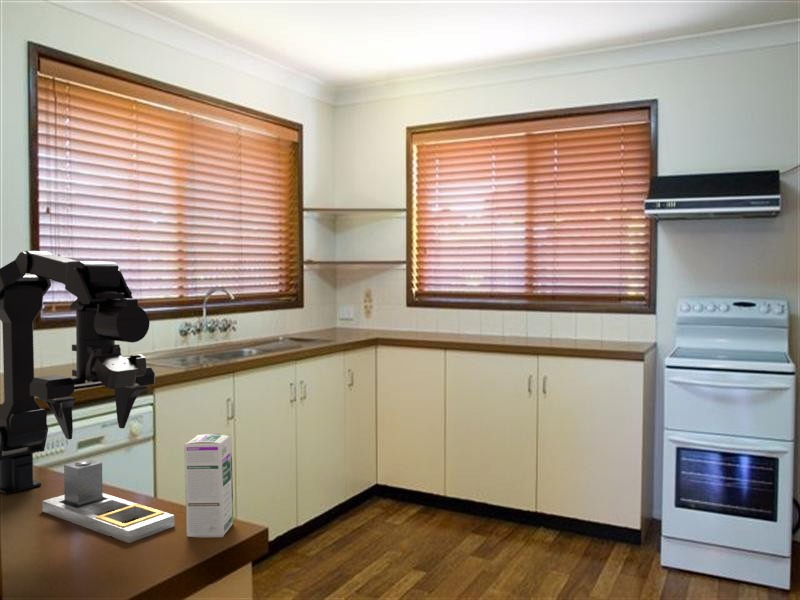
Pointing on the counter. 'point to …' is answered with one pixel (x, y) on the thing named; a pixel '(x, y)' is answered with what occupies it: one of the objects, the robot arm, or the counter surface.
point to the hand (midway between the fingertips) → (96, 433)
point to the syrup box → (208, 485)
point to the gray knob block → (83, 483)
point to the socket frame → (112, 517)
